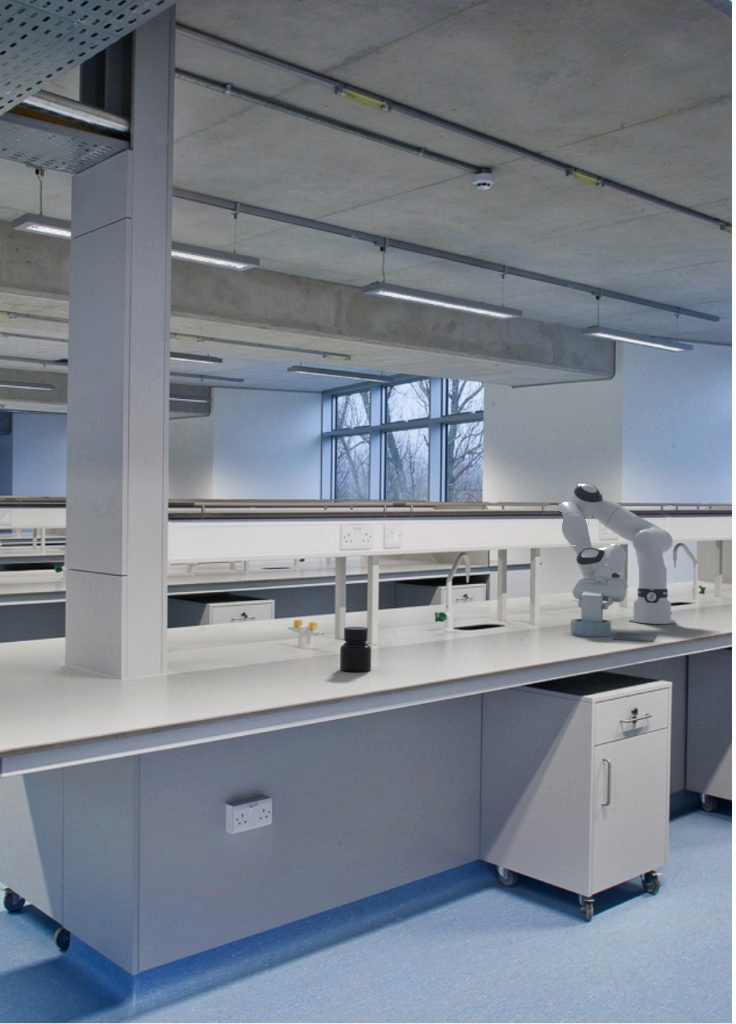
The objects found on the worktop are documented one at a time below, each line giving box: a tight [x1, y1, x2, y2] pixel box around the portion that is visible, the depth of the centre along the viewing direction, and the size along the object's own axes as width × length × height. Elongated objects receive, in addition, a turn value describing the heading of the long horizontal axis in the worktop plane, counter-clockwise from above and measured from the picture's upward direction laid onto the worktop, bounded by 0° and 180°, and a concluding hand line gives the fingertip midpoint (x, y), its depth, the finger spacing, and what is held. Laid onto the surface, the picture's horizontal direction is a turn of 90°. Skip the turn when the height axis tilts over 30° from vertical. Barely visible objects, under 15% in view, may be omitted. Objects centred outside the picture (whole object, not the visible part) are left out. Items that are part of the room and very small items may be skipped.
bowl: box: [570, 618, 612, 638], centre depth 349 cm, size 14×14×5 cm
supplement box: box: [580, 591, 604, 623], centre depth 349 cm, size 7×7×13 cm
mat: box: [612, 631, 657, 643], centre depth 343 cm, size 20×14×1 cm
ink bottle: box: [339, 626, 372, 673], centre depth 267 cm, size 10×9×12 cm
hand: (592, 607), depth 349 cm, fingers closed on supplement box, 8 cm apart
